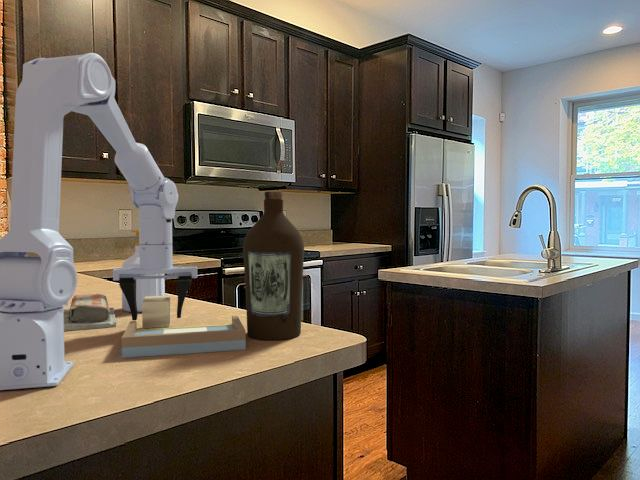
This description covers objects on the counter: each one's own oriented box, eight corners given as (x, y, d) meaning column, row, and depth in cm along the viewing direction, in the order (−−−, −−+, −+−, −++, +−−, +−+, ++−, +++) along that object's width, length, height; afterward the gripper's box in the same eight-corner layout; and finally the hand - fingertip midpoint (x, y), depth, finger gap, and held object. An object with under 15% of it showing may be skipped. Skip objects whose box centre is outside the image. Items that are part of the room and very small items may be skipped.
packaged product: (62, 294, 106) (113, 291, 110) (63, 316, 106) (113, 312, 110) (56, 307, 89) (116, 303, 94) (57, 334, 90) (116, 329, 94)
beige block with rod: (169, 333, 88) (169, 301, 88) (142, 334, 87) (142, 302, 87) (170, 324, 96) (170, 294, 96) (146, 325, 95) (145, 295, 95)
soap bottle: (121, 307, 114) (119, 200, 113) (162, 304, 118) (160, 200, 117) (123, 314, 106) (121, 198, 105) (167, 310, 110) (166, 199, 109)
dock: (245, 349, 77) (245, 330, 77) (121, 357, 73) (121, 337, 73) (237, 332, 89) (237, 315, 89) (130, 338, 84) (130, 321, 84)
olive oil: (251, 327, 94) (250, 193, 92) (307, 328, 92) (307, 193, 91) (236, 340, 83) (235, 190, 82) (299, 342, 82) (299, 190, 81)
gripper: (196, 242, 96) (197, 312, 97) (116, 243, 92) (117, 316, 93) (197, 244, 89) (198, 319, 90) (110, 245, 86) (112, 323, 86)
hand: (157, 318), depth 91 cm, fingers open, 7 cm apart
